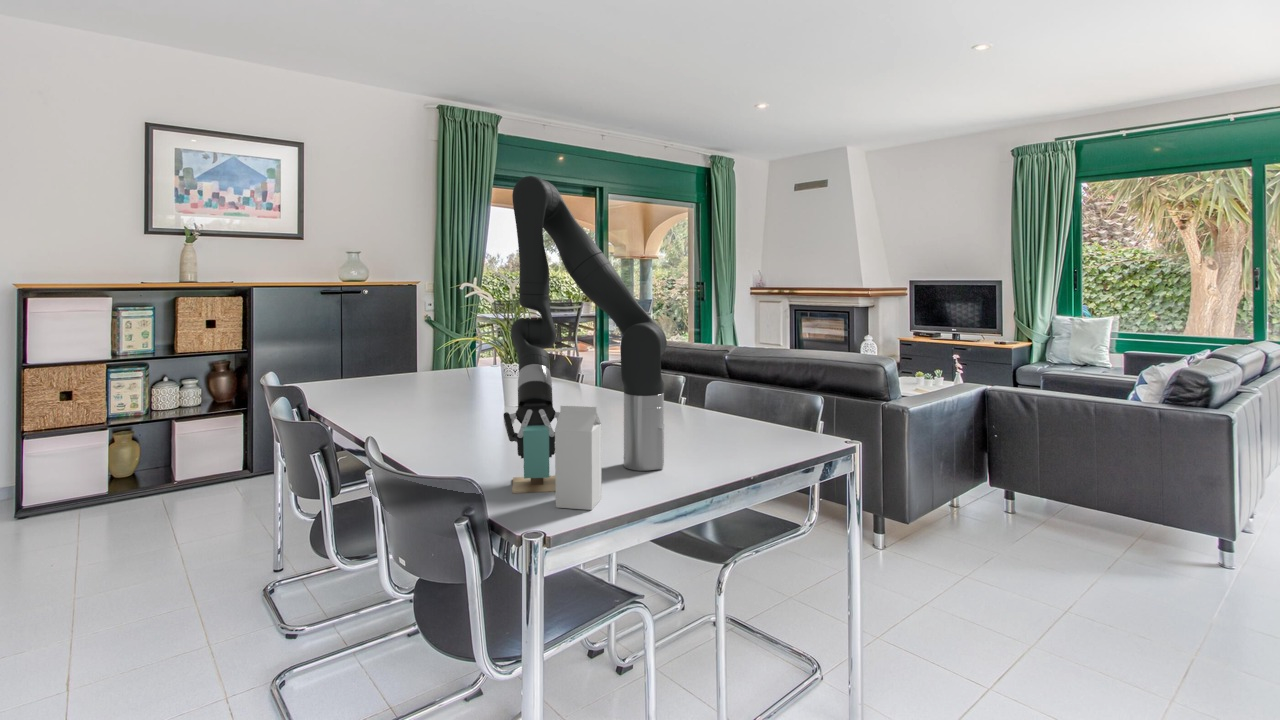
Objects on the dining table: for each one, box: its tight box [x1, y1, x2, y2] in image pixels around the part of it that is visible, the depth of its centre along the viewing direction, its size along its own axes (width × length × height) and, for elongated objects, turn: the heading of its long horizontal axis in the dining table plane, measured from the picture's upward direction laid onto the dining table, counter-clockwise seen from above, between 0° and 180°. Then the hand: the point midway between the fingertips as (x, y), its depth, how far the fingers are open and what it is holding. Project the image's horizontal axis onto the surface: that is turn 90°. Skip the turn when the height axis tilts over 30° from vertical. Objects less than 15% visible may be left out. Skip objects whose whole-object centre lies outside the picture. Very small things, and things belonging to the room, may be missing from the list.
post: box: [512, 475, 556, 494], centre depth 140 cm, size 10×10×8 cm
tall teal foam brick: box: [523, 425, 551, 479], centre depth 139 cm, size 5×5×10 cm
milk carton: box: [554, 404, 603, 511], centre depth 127 cm, size 7×7×19 cm
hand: (536, 455), depth 138 cm, fingers closed on tall teal foam brick, 5 cm apart
